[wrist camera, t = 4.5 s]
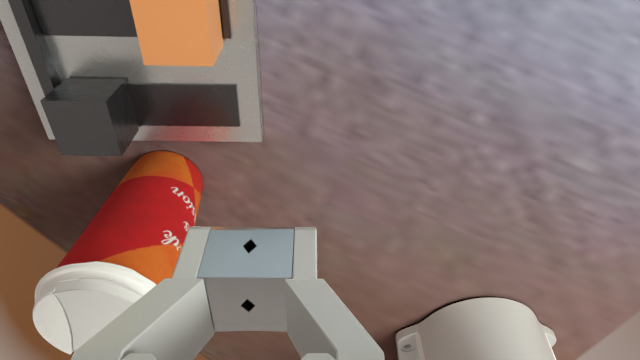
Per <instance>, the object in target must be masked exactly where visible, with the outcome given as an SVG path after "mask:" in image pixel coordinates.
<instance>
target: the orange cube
mask: <svg viewBox="0 0 640 360" xmlns="http://www.w3.org/2000/svg"><path fill="white" fill-rule="evenodd" d="M129 1H130V5H131V10H132V14H133V18H134V23H135V27H136V32H137V36H138V40H139V45H140V49H141V54H142V58H143V62H144V65H160V66H214V64H215V62H216V60H217V58H218V56H219V54H220V52H221V50H222V48H223V38H222V29H221V20H220V11H219V2H218V0H129Z"/></svg>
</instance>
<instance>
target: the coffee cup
mask: <svg viewBox="0 0 640 360" xmlns="http://www.w3.org/2000/svg"><path fill="white" fill-rule="evenodd" d="M202 189H203V179H202V176H201V173H200V171H199V169H198V168H197V167H196V165H195V164H194V163H193V162H191V161H190V160H189V159H188V158H186V157H184V156H182V155H180V154H178V153H175V152H171V151H164V150H160V151H152V152H149V153H147V154H145V155H143V156H142V157H140V158H139V159H138V160H137V161H136V162H135V164H134V165H133V166H132V167H131V169H130V170H129V171H128V172H127V174H126V175H125V176H124V178H123V179H122V180H121V182H120V183H119V184H118V186H117V187H116V188H115V190H114V191H113V192H112V194H111V195H110V196H109V198H108V199H107V200H106V202H105V203H104V204H103V206H102V207H101V208H100V210H99V211H98V212H97V214H96V215H95V217H94V218H93V219H92V221H91V222H90V223H89V225H88V226H87V227H86V229H85V230H84V231H83V233H82V234H81V236H80V237H79V238H78V240H77V241H76V242H75V244H74V245H73V246H72V248H71V249H70V250H69V252H68V253H67V255H66V256H65V257H64V259H63V260H62V261H61V263H60V264H59V265H58V267H57V268H56V269H53V270H52V271H50V272H48V273H47V274H46V275H45V276H44V277H42V278H41V279H40V281H39V283H38V284H37V286H36V289H35V305H34V308H33V321H34V325H35V327H36V329H37V330H38V332H39V333H40V334H41V336H42V337H43V338H44V339H45V340H47V341H48V342H49V343H50V344H52V345H53V346H55V347H56V348H58V349H60V350H62V351H63V352H66V353H68V354H71V353H72V351H74V352H75V351H76V350H77V349H78V348H79V347H81V346H82V345H83V344H84V343H86V342H87V341H88V340H89V339H91V338H92V337H93V336H94V335H96V334H97V333H98V332H99V331H100V330H102V329H103V328H104V327H105V326H107V325H108V324H109V323H110V322H112V321H113V320H114V319H115V318H117V317H118V316H119V315H120V314H121V313H123V312H124V311H125V310H126V309H128V308H129V307H130V306H131V305H133V304H134V303H135V302H136V301H137V300H139V299H140V298H141V297H142V296H144V295H145V294H146V293H147V292H149V291H150V290H151V289H152V288H154V287H155V286H156V285H157V284H158V283H160V282H161V281H162V280H163V279H165V278H172V275H173V272H174V269H175V266H176V263H177V260H178V258H179V255H180V252H181V249H182V246H183V243H184V240H185V237H186V235H187V232H188V230H189V229H190V228H191V226H194V225H195V221H196V217H197V212H198V208H199V204H200V199H201V194H202Z"/></svg>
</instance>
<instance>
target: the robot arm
mask: <svg viewBox="0 0 640 360" xmlns="http://www.w3.org/2000/svg"><path fill="white" fill-rule="evenodd" d="M214 331H287V334H288V336H289V337H290V339H291V341H292V343H293V345H294V346H295V348H296V350H297V352H298V353H299V355H300V357H301V360H385V358H384V352H383V351H382V349H381V348H380V347H379V346H378V344H377V343H376V342H375V341H374V340H373V338H372V337H371V336H370V335H369V334H368V332H367V331H366V330H365V329H364V328H363V326H362V325H361V324H360V323H359V321H358V320H357V319H356V318H355V317H354V315H353V314H352V313H351V312H350V311H349V309H348V308H347V307H346V306H345V305H344V303H343V302H342V301H341V300H340V299H339V297H338V296H337V295H336V294H335V292H334V291H333V290H332V289H331V288H330V286H329V285H328V284H327V283H326V282H325V280H324V279H317V230H316V228H315V227H270V228H249V227H216V226H213V227H201V226H191V228H190V229H189V230H188V232H187V235H186V237H185V240H184V243H183V246H182V249H181V252H180V255H179V258H178V260H177V263H176V266H175V269H174V272H173V275H172V278H165V279H163V280H162V281H161V282H160V283H158V284H157V285H156V286H155V287H154V288H152V289H151V290H150V291H149V292H147V293H146V294H145V295H144V296H142V297H141V298H140V299H139V300H137V301H136V302H135V303H134V304H133V305H131V306H130V307H129V308H128V309H126V310H125V311H124V312H123V313H121V314H120V315H119V316H118V317H117V318H115V319H114V320H113V321H112V322H110V323H109V324H108V325H107V326H105V327H104V328H103V329H102V330H100V331H99V332H98V333H97V334H96V335H94V336H93V337H92V338H91V339H89V340H88V341H87V342H86V343H84V344H83V345H82V346H81V347H79V348H78V349H77V350H76V351H75V352H74V354H73V356H72V358H71V360H193V359H194V358H195V357H196V355H198V353H199V352H200V351H201V350H202V348H203V347H204V346H205V345H206V343H207V342H208V341H209V340H210V339H211V337H212V336H213V335H214ZM395 338H396V346H397V355H398V360H556V358H555V355H554V353H553V350H552V348H551V347H552V346H553V345H554V344H555V343H556V337H555V335H554V332H553V331H552V330H551V329H549V328H548V327H546V326H544V325H542V324H540V323H539V321H538V320H537V318H536V316H535V314H534V313H533V312H532V311H531V310H530V309H529V308H528V307H527V306H525V305H523V304H521V303H519V302H516V301H513V300H509V299H504V298H476V299H470V300H465V301H461V302H457V303H454V304H451V305H449V306H446V307H444V308H442V309H440V310H438V311H436V312H435V313H433V314H432V315H430V316H429V317H428V318H426V319H425V320H423V321H422V322H420V323H418V324H416V325H413V326H410V327H407V328H405V329H403V330H400V331H399V332H397V334H396V336H395Z"/></svg>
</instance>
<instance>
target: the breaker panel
mask: <svg viewBox="0 0 640 360" xmlns="http://www.w3.org/2000/svg"><path fill="white" fill-rule="evenodd" d="M218 2H219V11H220V20H221V29H222V38H223V48H222V50H221V52H220V54H219V56H218V58H217V60H216V62H215V64H214V66H160V65H144V62H143V58H142V54H141V49H140V45H139V40H138V36H137V32H136V27H135V23H134V18H133V14H132V10H131V5H130V1H129V0H0V20H1V22H2V25H3V27H4V30H5V32H6V35H7V37H8V40H9V42H10V44H11V47H12V49H13V52H14V54H15V57H16V59H17V62H18V64H19V67H20V69H21V72H22V74H23V77H24V79H25V81H26V84H27V86H28V89H29V91H30V94H31V96H32V99H33V101H34V104H35V106H36V109H37V111H38V114H39V116H40V119H41V121H42V123H43V126H44V128H45V131H46V133H47V136H48V138H49V139H55V140H56V142H57V145H58V147H59V150H60V152H61V155H82V156H122V155H123V153H124V152H125V150H126V149H127V147H128V146H129V144H130V143H131V141H132V140H139V141H222V142H262V138H263V132H264V120H263V103H262V87H261V71H260V55H259V39H258V23H257V7H256V0H218Z"/></svg>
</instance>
